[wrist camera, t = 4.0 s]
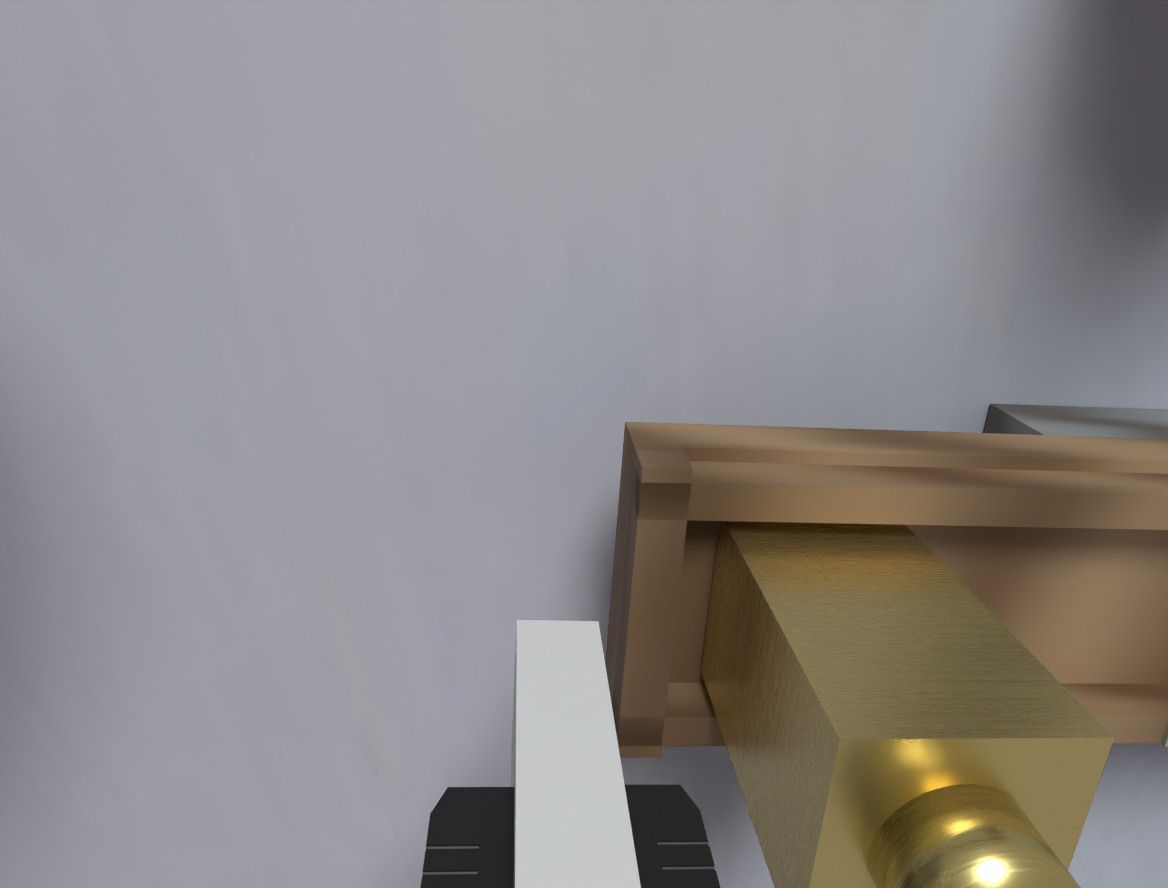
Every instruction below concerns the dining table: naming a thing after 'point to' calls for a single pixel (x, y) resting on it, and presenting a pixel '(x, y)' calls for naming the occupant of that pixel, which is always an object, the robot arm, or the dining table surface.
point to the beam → (936, 516)
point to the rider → (889, 716)
